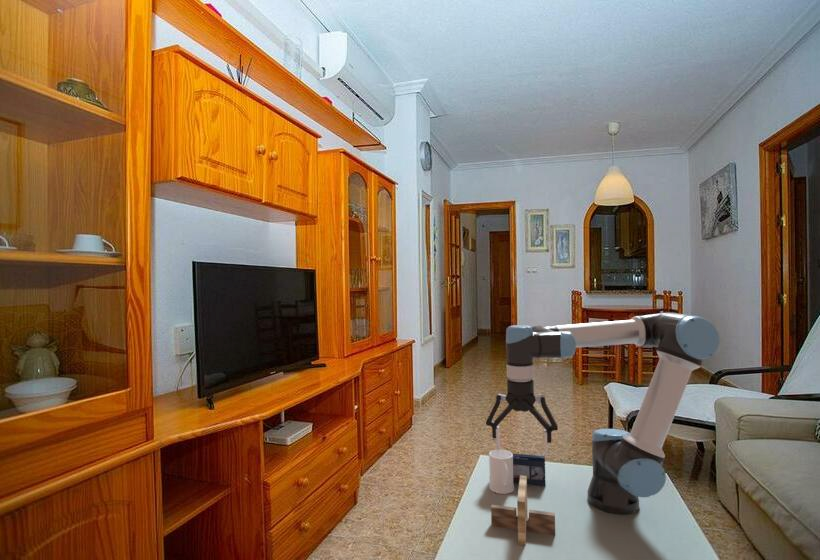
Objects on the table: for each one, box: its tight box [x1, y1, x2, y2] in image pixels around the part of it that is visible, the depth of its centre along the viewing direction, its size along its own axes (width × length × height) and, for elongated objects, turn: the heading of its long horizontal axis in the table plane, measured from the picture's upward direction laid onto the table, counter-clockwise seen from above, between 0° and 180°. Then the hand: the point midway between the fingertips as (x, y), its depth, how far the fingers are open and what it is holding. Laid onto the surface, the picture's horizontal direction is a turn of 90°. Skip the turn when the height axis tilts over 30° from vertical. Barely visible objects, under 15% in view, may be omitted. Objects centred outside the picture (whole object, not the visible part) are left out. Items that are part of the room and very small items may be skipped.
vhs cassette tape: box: [511, 452, 547, 487], centre depth 158 cm, size 18×3×10 cm, turn 72°
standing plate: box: [490, 504, 556, 536], centre depth 129 cm, size 18×2×6 cm, turn 73°
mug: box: [488, 448, 515, 495], centre depth 152 cm, size 12×8×12 cm
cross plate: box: [516, 475, 529, 546], centre depth 129 cm, size 16×2×12 cm, turn 163°
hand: (521, 451), depth 129 cm, fingers open, 13 cm apart
